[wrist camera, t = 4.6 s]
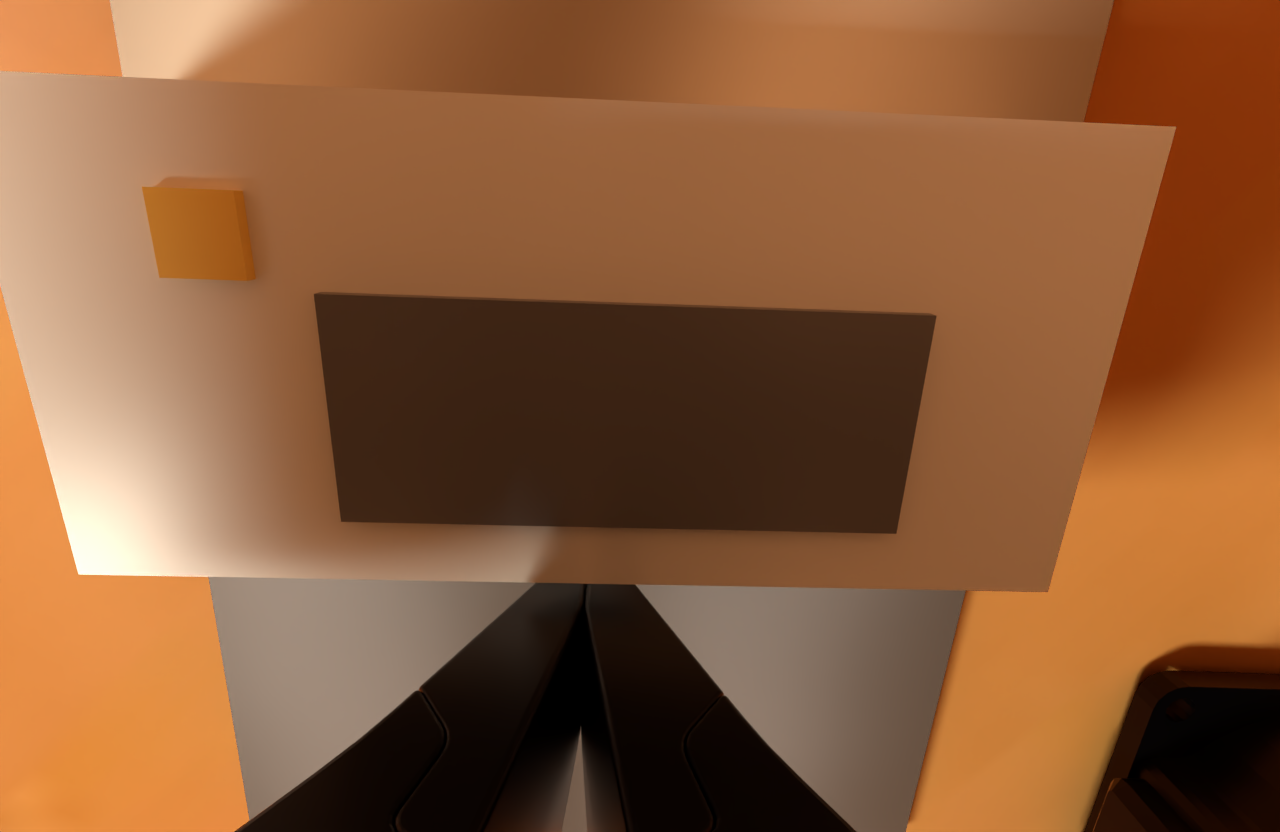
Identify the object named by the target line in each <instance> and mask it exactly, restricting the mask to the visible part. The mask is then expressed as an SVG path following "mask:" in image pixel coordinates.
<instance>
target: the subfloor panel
mask: <svg viewBox="0 0 1280 832" xmlns="http://www.w3.org/2000/svg"><path fill="white" fill-rule="evenodd" d="M1113 3H1114V0H110V5H111V11H112V17H113V23H114V29H115V35H116V41H117V47H118V52H119V58H120V64H121V70H122V76H123V77H137V78H158V79H180V80H201V81H222V82H243V83H264V84H285V85H306V86H328V87H349V88H370V89H391V90H412V91H433V92H454V93H476V94H497V95H518V96H539V97H560V98H581V99H602V100H624V101H645V102H666V103H687V104H708V105H729V106H750V107H771V108H793V109H814V110H835V111H856V112H877V113H898V114H919V115H941V116H962V117H983V118H1004V119H1025V120H1046V121H1067V122H1084V119H1085V115H1086V111H1087V107H1088V103H1089V99H1090V95H1091V91H1092V87H1093V83H1094V79H1095V75H1096V71H1097V67H1098V63H1099V59H1100V55H1101V51H1102V47H1103V43H1104V39H1105V35H1106V31H1107V27H1108V23H1109V19H1110V15H1111V11H1112V7H1113ZM209 583H210V589H211V595H212V600H213V606H214V612H215V618H216V624H217V630H218V636H219V642H220V648H221V654H222V659H223V665H224V671H225V677H226V683H227V689H228V695H229V701H230V707H231V713H232V718H233V724H234V730H235V736H236V742H237V748H238V754H239V760H240V766H241V772H242V778H243V783H244V789H245V795H246V801H247V807H248V813H249V819H250V820H251V819H252V818H254V817H255V816H256V815H258V814H259V813H261V812H262V811H263V810H265V809H266V808H267V807H269V806H270V805H271V804H273V803H274V802H276V801H277V800H278V799H280V798H281V797H282V796H284V795H285V794H286V793H288V792H289V791H291V790H292V789H293V788H295V787H296V786H297V785H299V784H300V783H301V782H303V781H304V780H306V779H307V778H308V777H310V776H311V775H312V774H314V773H315V772H316V771H318V770H319V769H320V768H322V767H323V766H324V765H326V764H327V763H328V762H329V761H331V760H332V759H333V758H335V757H336V756H337V755H339V754H340V753H341V752H342V751H344V750H345V749H346V748H348V747H349V746H350V745H352V744H353V743H354V742H356V741H357V740H358V739H359V738H361V737H362V736H363V735H364V734H365V733H367V732H368V731H369V730H370V729H371V728H372V727H374V726H375V725H376V724H377V723H378V722H380V721H381V720H382V719H383V718H384V717H385V716H387V715H388V714H389V713H390V712H391V711H393V710H394V709H395V708H396V707H397V706H398V705H399V704H401V703H402V702H403V701H404V700H405V699H406V698H407V697H408V696H409V695H411V694H412V693H413V692H414V691H416V690H419V687H420V686H421V685H422V684H423V683H424V682H425V681H427V680H428V679H429V678H430V677H431V676H432V675H433V674H434V673H436V672H437V671H438V670H439V669H440V668H441V667H442V666H443V665H444V664H446V663H447V662H448V661H449V660H450V659H451V658H452V657H453V656H455V655H456V654H457V653H458V652H459V651H460V650H461V649H462V648H463V647H465V646H466V645H467V644H468V643H469V642H470V641H471V640H472V639H474V638H475V637H476V636H477V635H478V634H479V633H480V632H481V631H482V630H484V629H485V628H486V627H487V626H488V625H489V624H490V623H491V622H493V621H494V620H495V619H496V618H497V617H498V616H499V615H500V614H501V613H503V612H504V611H505V610H506V609H507V608H508V607H509V606H510V605H512V604H513V603H514V602H515V601H516V600H517V599H518V598H519V597H520V596H522V595H523V594H524V593H525V592H526V591H527V590H528V589H529V588H531V587H532V586H533V585H534V584H535V583H525V582H469V581H414V580H359V579H304V578H249V577H209ZM636 586H637V587H638V588H639V589H640V591H641V592H642V593H643V594H644V596H645V597H646V598H647V599H648V601H649V602H650V603H651V604H652V605H653V607H654V608H655V609H656V610H657V612H658V613H659V614H660V615H661V616H662V618H663V619H664V620H665V621H666V623H667V624H668V625H669V626H670V627H671V629H672V630H673V631H674V632H675V634H676V635H677V636H678V637H679V639H680V640H681V641H682V642H683V643H684V645H685V646H686V647H687V648H688V650H689V651H690V652H691V653H692V654H693V656H694V657H695V658H696V659H697V661H698V662H699V663H700V664H701V666H702V667H703V668H704V669H705V670H706V672H707V673H708V674H709V675H710V677H711V678H712V679H713V680H714V681H715V683H716V684H717V685H718V686H719V688H720V689H721V690H722V691H723V693H724V696H727V697H728V698H729V699H730V701H731V702H732V703H733V704H734V706H735V707H736V708H737V709H738V711H739V712H740V713H741V714H742V715H743V716H744V718H745V719H746V720H747V721H748V722H749V723H750V725H751V726H752V727H753V728H754V729H755V730H756V731H757V733H758V734H759V735H760V736H761V737H762V738H763V739H764V741H765V742H766V743H767V744H768V745H769V746H770V747H771V748H772V749H773V750H774V751H775V752H776V753H777V754H778V755H779V756H780V757H781V758H782V759H783V760H784V761H785V762H786V763H787V764H788V765H789V766H790V767H791V768H792V769H793V770H794V771H795V772H796V773H797V774H798V775H799V776H800V777H801V778H802V779H803V780H804V781H805V782H806V783H807V784H808V785H809V786H810V787H811V788H812V789H813V790H814V791H815V792H816V793H817V794H818V795H819V796H820V797H821V798H822V799H823V800H825V801H826V802H827V803H828V804H829V805H830V806H831V807H832V808H833V809H834V810H835V811H836V812H837V813H838V814H839V815H840V816H841V817H842V818H843V819H844V820H845V821H846V822H847V823H848V824H849V825H851V826H852V827H853V828H854V829H855V830H856V831H857V832H906V828H907V824H908V820H909V816H910V812H911V808H912V804H913V800H914V796H915V792H916V788H917V784H918V780H919V776H920V772H921V768H922V764H923V760H924V756H925V752H926V748H927V744H928V740H929V736H930V732H931V728H932V724H933V720H934V716H935V712H936V708H937V704H938V700H939V696H940V692H941V688H942V684H943V680H944V676H945V672H946V668H947V664H948V660H949V656H950V652H951V648H952V644H953V640H954V635H955V631H956V627H957V623H958V619H959V615H960V611H961V607H962V603H963V599H964V595H965V590H910V589H855V588H800V587H745V586H690V585H636ZM562 832H587V822H586V807H585V791H584V776H583V761H582V744H581V731H580V737H579V743H578V749H577V754H576V759H575V765H574V770H573V775H572V780H571V786H570V791H569V796H568V801H567V806H566V812H565V817H564V822H563V827H562Z"/></svg>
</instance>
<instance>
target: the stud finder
mask: <svg viewBox="0 0 1280 832" xmlns="http://www.w3.org/2000/svg"><path fill="white" fill-rule="evenodd" d="M1175 130H1176V127H1173V126H1152V125H1131V124H1110V123H1089V122H1067V121H1046V120H1025V119H1004V118H983V117H962V116H941V115H919V114H898V113H877V112H856V111H835V110H814V109H793V108H771V107H750V106H729V105H708V104H687V103H666V102H645V101H624V100H602V99H581V98H560V97H539V96H518V95H497V94H476V93H454V92H433V91H412V90H391V89H370V88H349V87H328V86H306V85H285V84H264V83H243V82H222V81H201V80H180V79H158V78H137V77H116V76H95V75H74V74H53V73H32V72H10V71H0V286H1V290H2V294H3V297H4V301H5V305H6V308H7V312H8V316H9V319H10V323H11V327H12V331H13V334H14V338H15V342H16V345H17V349H18V353H19V356H20V360H21V364H22V367H23V371H24V375H25V379H26V382H27V386H28V390H29V393H30V397H31V401H32V404H33V408H34V412H35V415H36V419H37V423H38V426H39V430H40V434H41V438H42V441H43V445H44V449H45V452H46V456H47V460H48V463H49V467H50V471H51V474H52V478H53V482H54V486H55V489H56V493H57V497H58V500H59V504H60V508H61V511H62V515H63V519H64V522H65V526H66V530H67V534H68V537H69V541H70V545H71V548H72V552H73V556H74V559H75V563H76V567H77V570H78V574H84V575H139V576H194V577H249V578H304V579H359V580H414V581H469V582H525V583H580V584H635V585H690V586H745V587H800V588H855V589H910V590H965V591H1020V592H1048V589H1049V586H1050V582H1051V578H1052V575H1053V571H1054V568H1055V564H1056V560H1057V557H1058V553H1059V550H1060V546H1061V542H1062V539H1063V535H1064V531H1065V528H1066V524H1067V521H1068V517H1069V513H1070V510H1071V506H1072V503H1073V499H1074V495H1075V492H1076V488H1077V484H1078V481H1079V477H1080V474H1081V470H1082V466H1083V463H1084V459H1085V456H1086V452H1087V448H1088V445H1089V441H1090V437H1091V434H1092V430H1093V427H1094V423H1095V419H1096V416H1097V412H1098V409H1099V405H1100V401H1101V398H1102V394H1103V390H1104V387H1105V383H1106V380H1107V376H1108V372H1109V369H1110V365H1111V362H1112V358H1113V354H1114V351H1115V347H1116V343H1117V340H1118V336H1119V333H1120V329H1121V325H1122V322H1123V318H1124V315H1125V311H1126V307H1127V304H1128V300H1129V296H1130V293H1131V289H1132V286H1133V282H1134V278H1135V275H1136V271H1137V268H1138V264H1139V260H1140V257H1141V253H1142V249H1143V246H1144V242H1145V239H1146V235H1147V231H1148V228H1149V224H1150V221H1151V217H1152V213H1153V210H1154V206H1155V202H1156V199H1157V195H1158V192H1159V188H1160V184H1161V181H1162V177H1163V174H1164V170H1165V166H1166V163H1167V159H1168V155H1169V152H1170V148H1171V145H1172V141H1173V137H1174V134H1175Z"/></svg>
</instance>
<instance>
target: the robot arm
mask: <svg viewBox="0 0 1280 832" xmlns="http://www.w3.org/2000/svg"><path fill="white" fill-rule="evenodd" d="M580 731H581V744H582V761H583V776H584V791H585V807H586V822H587V832H857V831H856V830H855V829H854V828H853V827H852V826H851V825H849V824H848V823H847V822H846V821H845V820H844V819H843V818H842V817H841V816H840V815H839V814H838V813H837V812H836V811H835V810H834V809H833V808H832V807H831V806H830V805H829V804H828V803H827V802H826V801H825V800H823V799H822V798H821V797H820V796H819V795H818V794H817V793H816V792H815V791H814V790H813V789H812V788H811V787H810V786H809V785H808V784H807V783H806V782H805V781H804V780H803V779H802V778H801V777H800V776H799V775H798V774H797V773H796V772H795V771H794V770H793V769H792V768H791V767H790V766H789V765H788V764H787V763H786V762H785V761H784V760H783V759H782V758H781V757H780V756H779V755H778V754H777V753H776V752H775V751H774V750H773V749H772V748H771V747H770V746H769V745H768V744H767V743H766V742H765V741H764V739H763V738H762V737H761V736H760V735H759V734H758V733H757V731H756V730H755V729H754V728H753V727H752V726H751V725H750V723H749V722H748V721H747V720H746V719H745V718H744V716H743V715H742V714H741V713H740V712H739V711H738V709H737V708H736V707H735V706H734V704H733V703H732V702H731V701H730V699H729V698H728V697H727V696H724V693H723V691H722V690H721V689H720V688H719V686H718V685H717V684H716V683H715V681H714V680H713V679H712V678H711V677H710V675H709V674H708V673H707V672H706V670H705V669H704V668H703V667H702V666H701V664H700V663H699V662H698V661H697V659H696V658H695V657H694V656H693V654H692V653H691V652H690V651H689V650H688V648H687V647H686V646H685V645H684V643H683V642H682V641H681V640H680V639H679V637H678V636H677V635H676V634H675V632H674V631H673V630H672V629H671V627H670V626H669V625H668V624H667V623H666V621H665V620H664V619H663V618H662V616H661V615H660V614H659V613H658V612H657V610H656V609H655V608H654V607H653V605H652V604H651V603H650V602H649V601H648V599H647V598H646V597H645V596H644V594H643V593H642V592H641V591H640V589H639V588H638V587H637V586H636V585H635V584H580V583H535V584H534V585H533V586H532V587H531V588H529V589H528V590H527V591H526V592H525V593H524V594H523V595H522V596H520V597H519V598H518V599H517V600H516V601H515V602H514V603H513V604H512V605H510V606H509V607H508V608H507V609H506V610H505V611H504V612H503V613H501V614H500V615H499V616H498V617H497V618H496V619H495V620H494V621H493V622H491V623H490V624H489V625H488V626H487V627H486V628H485V629H484V630H482V631H481V632H480V633H479V634H478V635H477V636H476V637H475V638H474V639H472V640H471V641H470V642H469V643H468V644H467V645H466V646H465V647H463V648H462V649H461V650H460V651H459V652H458V653H457V654H456V655H455V656H453V657H452V658H451V659H450V660H449V661H448V662H447V663H446V664H444V665H443V666H442V667H441V668H440V669H439V670H438V671H437V672H436V673H434V674H433V675H432V676H431V677H430V678H429V679H428V680H427V681H425V682H424V683H423V684H422V685H421V686H420V687H419V690H416V691H414V692H413V693H412V694H411V695H409V696H408V697H407V698H406V699H405V700H404V701H403V702H402V703H401V704H399V705H398V706H397V707H396V708H395V709H394V710H393V711H391V712H390V713H389V714H388V715H387V716H385V717H384V718H383V719H382V720H381V721H380V722H378V723H377V724H376V725H375V726H374V727H372V728H371V729H370V730H369V731H368V732H367V733H365V734H364V735H363V736H362V737H361V738H359V739H358V740H357V741H356V742H354V743H353V744H352V745H350V746H349V747H348V748H346V749H345V750H344V751H342V752H341V753H340V754H339V755H337V756H336V757H335V758H333V759H332V760H331V761H329V762H328V763H327V764H326V765H324V766H323V767H322V768H320V769H319V770H318V771H316V772H315V773H314V774H312V775H311V776H310V777H308V778H307V779H306V780H304V781H303V782H301V783H300V784H299V785H297V786H296V787H295V788H293V789H292V790H291V791H289V792H288V793H286V794H285V795H284V796H282V797H281V798H280V799H278V800H277V801H276V802H274V803H273V804H271V805H270V806H269V807H267V808H266V809H265V810H263V811H262V812H261V813H259V814H258V815H256V816H255V817H254V818H252V819H251V820H250V821H248V822H247V823H246V824H244V825H243V826H241V827H240V828H239V829H237V830H236V831H235V832H562V827H563V822H564V817H565V812H566V806H567V801H568V796H569V791H570V786H571V780H572V775H573V770H574V765H575V759H576V754H577V749H578V743H579V737H580ZM1085 832H1280V674H1259V673H1229V672H1199V671H1164V672H1159V673H1157V674H1154V675H1152V676H1150V677H1148V678H1147V679H1146V680H1145V681H1144V682H1142V683H1141V684H1140V686H1139V688H1138V689H1137V691H1136V693H1135V695H1134V698H1133V701H1132V704H1131V706H1130V709H1129V712H1128V715H1127V717H1126V720H1125V723H1124V725H1123V728H1122V731H1121V734H1120V736H1119V739H1118V742H1117V745H1116V747H1115V750H1114V753H1113V756H1112V758H1111V761H1110V764H1109V767H1108V769H1107V772H1106V775H1105V778H1104V780H1103V783H1102V786H1101V789H1100V791H1099V794H1098V797H1097V800H1096V802H1095V805H1094V808H1093V811H1092V813H1091V816H1090V819H1089V822H1088V824H1087V827H1086V830H1085Z"/></svg>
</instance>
